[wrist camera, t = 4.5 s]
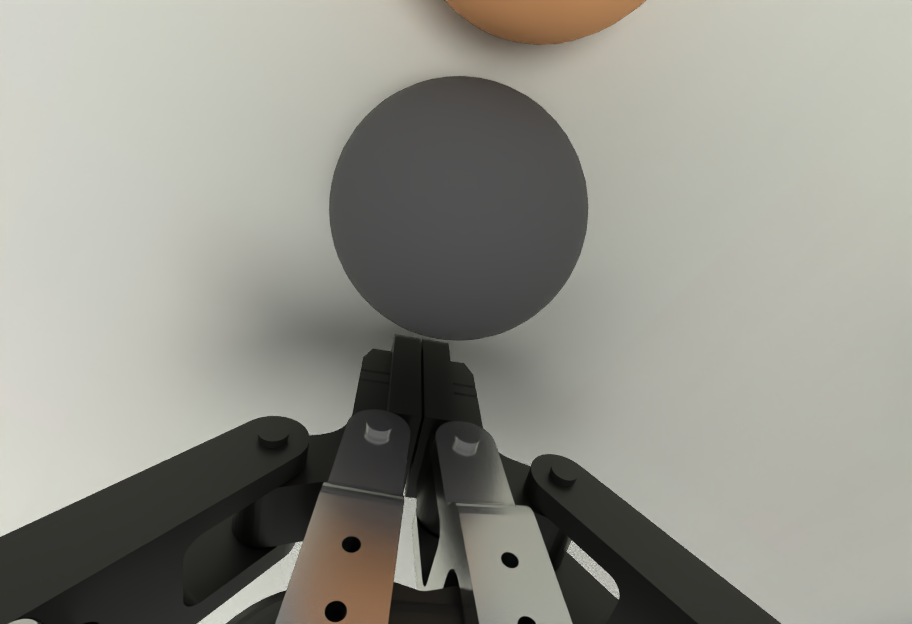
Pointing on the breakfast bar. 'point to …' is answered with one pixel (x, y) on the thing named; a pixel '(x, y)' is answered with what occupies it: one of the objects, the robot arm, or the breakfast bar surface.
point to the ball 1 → (543, 17)
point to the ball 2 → (458, 208)
